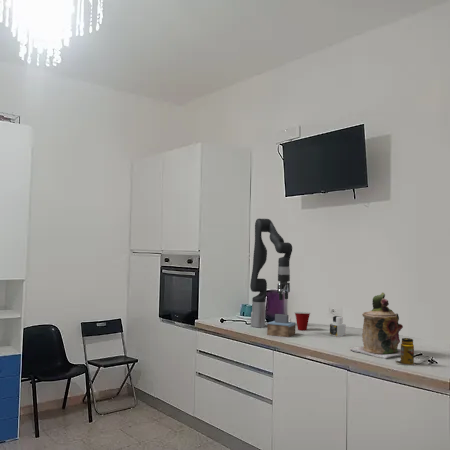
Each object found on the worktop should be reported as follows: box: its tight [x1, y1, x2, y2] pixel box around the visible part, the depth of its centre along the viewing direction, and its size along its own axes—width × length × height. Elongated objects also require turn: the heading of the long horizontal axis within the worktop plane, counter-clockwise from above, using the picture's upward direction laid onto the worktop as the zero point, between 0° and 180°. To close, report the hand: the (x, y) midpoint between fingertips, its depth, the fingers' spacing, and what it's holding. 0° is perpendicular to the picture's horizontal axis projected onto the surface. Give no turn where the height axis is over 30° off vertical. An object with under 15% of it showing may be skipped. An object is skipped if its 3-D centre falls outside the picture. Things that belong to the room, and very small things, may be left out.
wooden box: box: [266, 323, 296, 338], centre depth 316 cm, size 14×13×7 cm
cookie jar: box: [349, 292, 404, 360], centre depth 268 cm, size 25×25×32 cm
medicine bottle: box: [329, 315, 347, 337], centre depth 318 cm, size 7×7×12 cm
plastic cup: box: [294, 311, 311, 331], centre depth 337 cm, size 11×11×12 cm
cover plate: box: [267, 313, 296, 327], centre depth 316 cm, size 14×12×6 cm
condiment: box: [394, 337, 416, 366], centre depth 243 cm, size 7×8×12 cm
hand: (283, 299), depth 315 cm, fingers open, 8 cm apart
